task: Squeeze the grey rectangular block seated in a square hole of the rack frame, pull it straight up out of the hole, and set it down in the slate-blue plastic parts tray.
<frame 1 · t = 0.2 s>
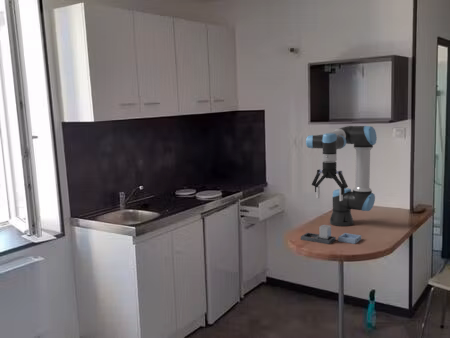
hand: (329, 199, 252), 26 cm above the counter, fingers open, 13 cm apart
grey rectangular block: (325, 241, 264), resting in rack frame
rack frame: (318, 239, 266), on the counter
parts tray: (349, 240, 263), on the counter
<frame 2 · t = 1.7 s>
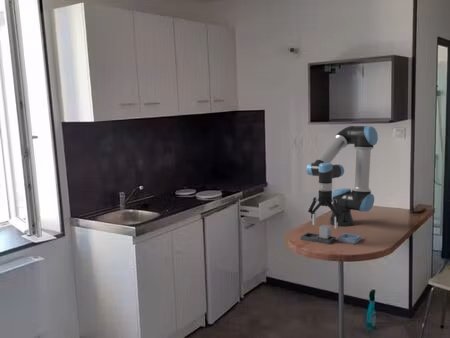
hand: (324, 226, 262), 9 cm above the counter, fingers open, 13 cm apart
nothing on the counter moved.
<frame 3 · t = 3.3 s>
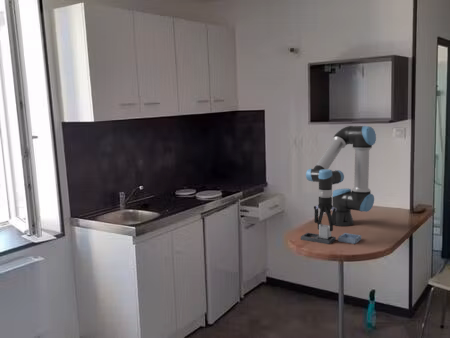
hand: (325, 235, 263), 3 cm above the counter, fingers closed on grey rectangular block, 5 cm apart
grey rectangular block: (325, 241, 264), resting in rack frame, touching gripper
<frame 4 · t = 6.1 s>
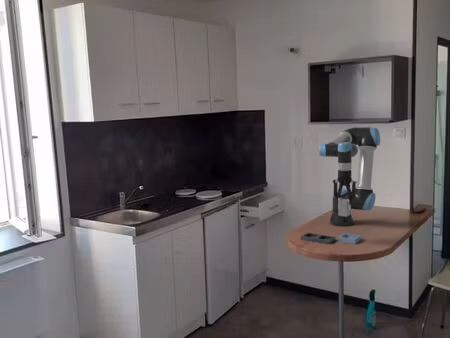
hand: (344, 209, 261), 18 cm above the counter, fingers closed on grey rectangular block, 5 cm apart
grey rectangular block: (344, 215, 262), point 15 cm above the counter, touching gripper
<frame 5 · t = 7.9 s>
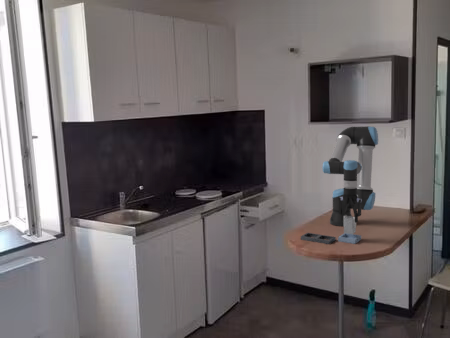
hand: (349, 226, 262), 8 cm above the counter, fingers closed on grey rectangular block, 5 cm apart
grey rectangular block: (349, 232, 263), point 5 cm above the counter, touching gripper
when the fingers open (6 cm above the counter, at t = 9.0 s): grey rectangular block drops 2 cm, resting on parts tray.
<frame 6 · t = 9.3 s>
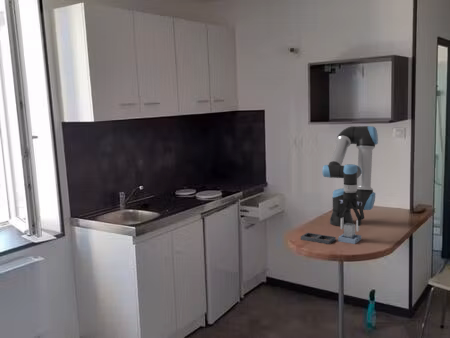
hand: (349, 229, 263), 6 cm above the counter, fingers open, 9 cm apart
grey rectangular block: (349, 239, 263), point 1 cm above the counter, touching parts tray
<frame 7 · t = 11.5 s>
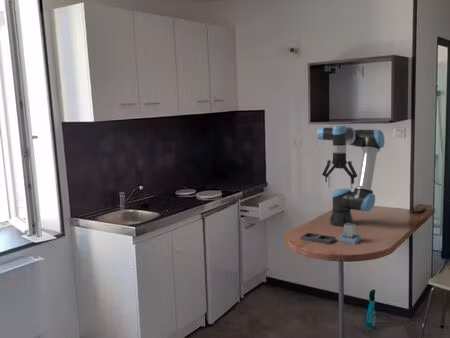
hand: (339, 188, 265), 30 cm above the counter, fingers open, 13 cm apart
nothing on the counter moved.
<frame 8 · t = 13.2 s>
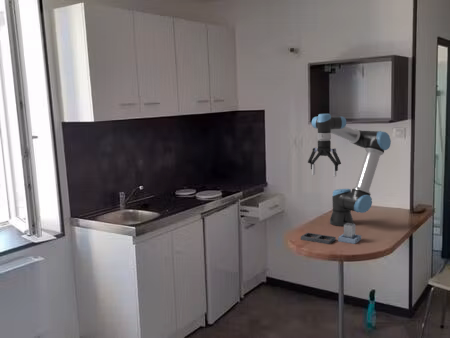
hand: (324, 175, 270), 37 cm above the counter, fingers open, 13 cm apart
nothing on the counter moved.
at the end: grey rectangular block inside the target area on the parts tray (0.2 cm from its centre), point 0.6 cm above the parts tray's base; the gripper is holding nothing; grey rectangular block touching parts tray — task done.
